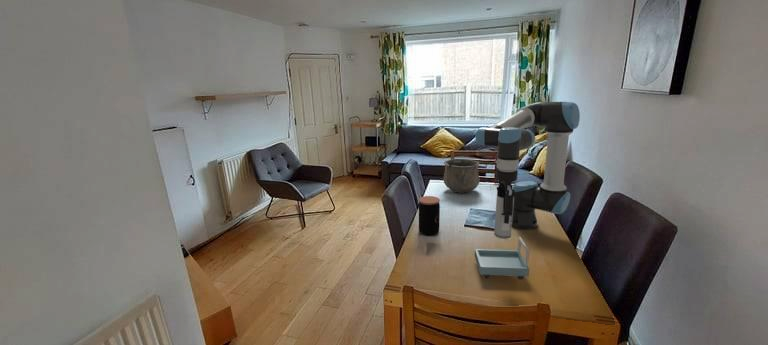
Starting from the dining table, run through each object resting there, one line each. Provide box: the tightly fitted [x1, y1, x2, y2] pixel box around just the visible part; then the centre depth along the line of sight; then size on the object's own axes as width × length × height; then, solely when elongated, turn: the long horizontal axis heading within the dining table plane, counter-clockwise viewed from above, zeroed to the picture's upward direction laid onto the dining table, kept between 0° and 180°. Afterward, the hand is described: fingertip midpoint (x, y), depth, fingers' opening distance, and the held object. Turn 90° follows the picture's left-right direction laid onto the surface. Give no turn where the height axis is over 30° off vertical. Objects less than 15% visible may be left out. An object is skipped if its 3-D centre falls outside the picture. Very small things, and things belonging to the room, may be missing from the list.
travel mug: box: [493, 186, 515, 240], centre depth 123 cm, size 6×7×20 cm
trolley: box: [474, 236, 531, 281], centre depth 128 cm, size 18×14×12 cm
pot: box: [443, 158, 481, 193], centre depth 224 cm, size 25×24×21 cm
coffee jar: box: [418, 195, 441, 237], centre depth 163 cm, size 11×11×18 cm
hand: (502, 226), depth 124 cm, fingers closed on travel mug, 6 cm apart
